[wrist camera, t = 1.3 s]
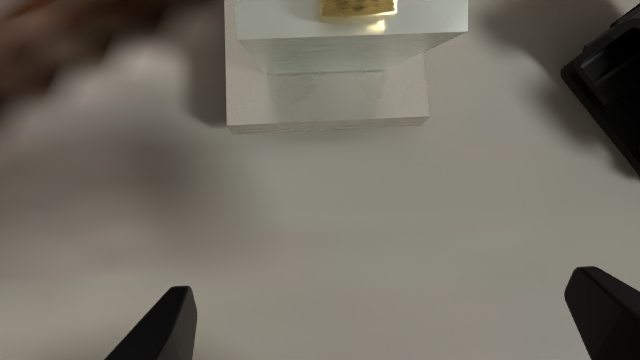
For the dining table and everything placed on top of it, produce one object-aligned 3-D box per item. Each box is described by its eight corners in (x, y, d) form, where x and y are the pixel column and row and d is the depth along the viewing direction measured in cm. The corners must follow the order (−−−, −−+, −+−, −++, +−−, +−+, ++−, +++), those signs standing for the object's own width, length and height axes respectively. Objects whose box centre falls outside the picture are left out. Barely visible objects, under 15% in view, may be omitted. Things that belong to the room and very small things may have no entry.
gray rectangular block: (413, 133, 23) (429, 116, 20) (236, 142, 23) (226, 125, 20) (397, -24, 25) (409, -61, 22) (232, -19, 25) (223, -56, 22)
